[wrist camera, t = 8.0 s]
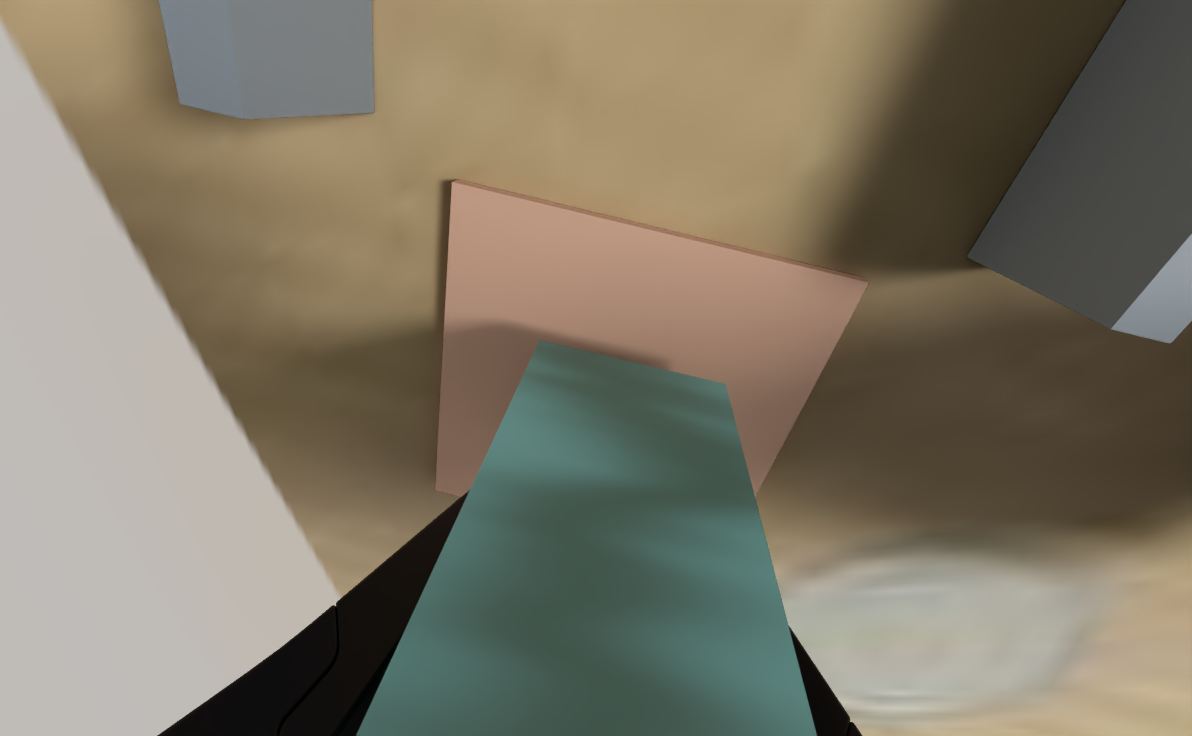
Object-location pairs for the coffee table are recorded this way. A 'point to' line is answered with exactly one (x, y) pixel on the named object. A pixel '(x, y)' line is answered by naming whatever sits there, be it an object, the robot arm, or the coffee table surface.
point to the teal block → (601, 574)
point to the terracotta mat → (623, 317)
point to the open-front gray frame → (1006, 245)
